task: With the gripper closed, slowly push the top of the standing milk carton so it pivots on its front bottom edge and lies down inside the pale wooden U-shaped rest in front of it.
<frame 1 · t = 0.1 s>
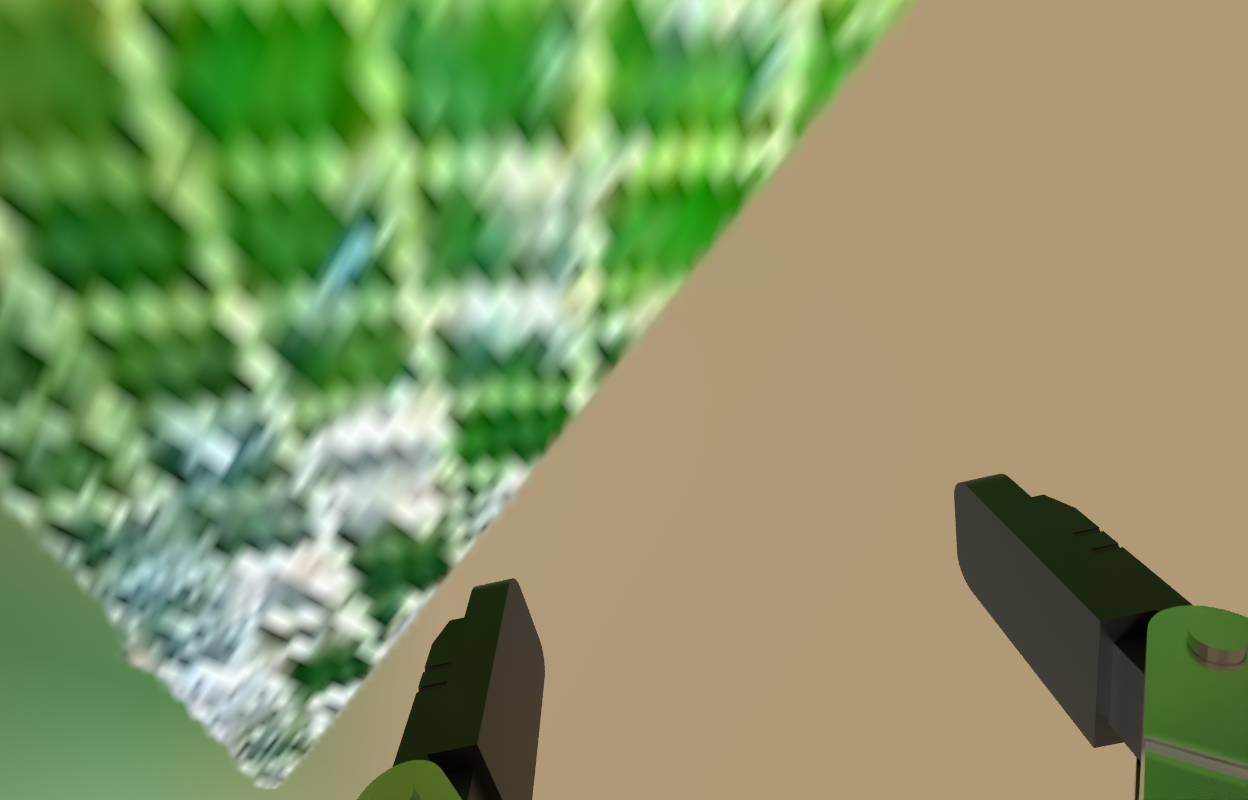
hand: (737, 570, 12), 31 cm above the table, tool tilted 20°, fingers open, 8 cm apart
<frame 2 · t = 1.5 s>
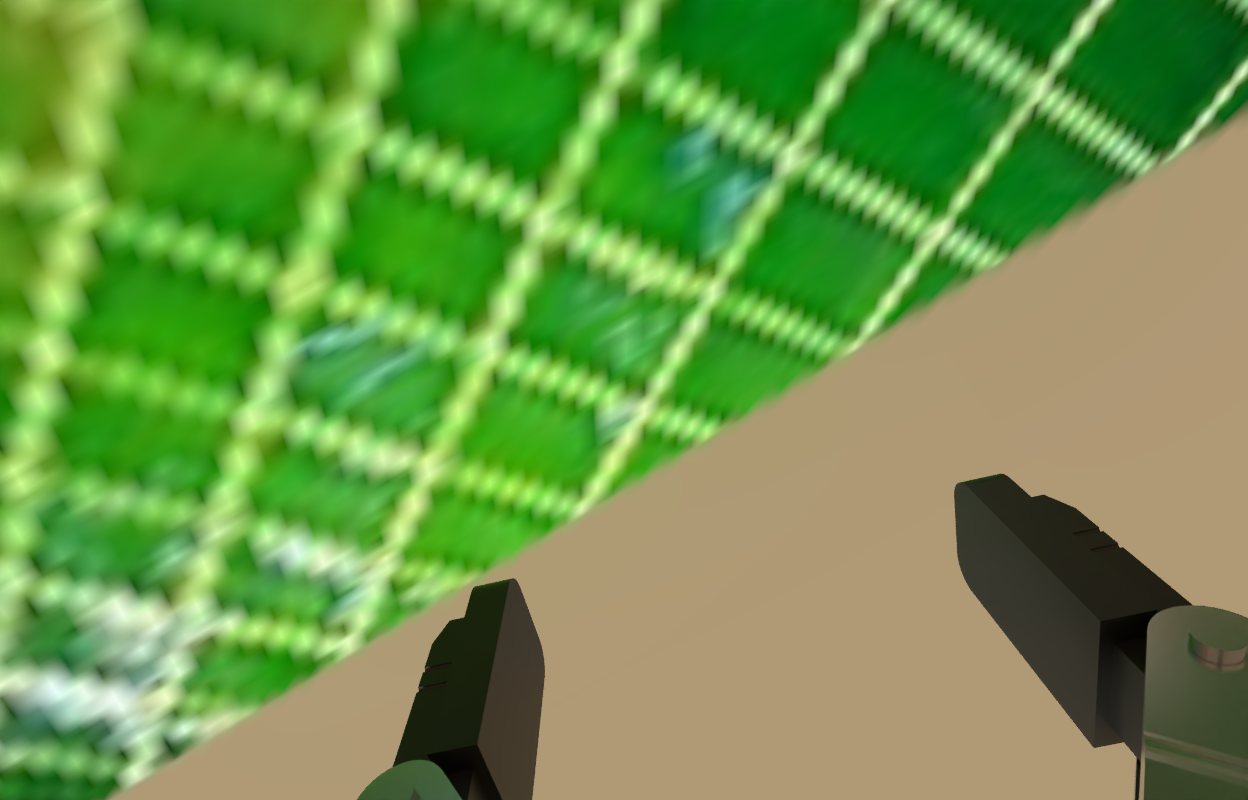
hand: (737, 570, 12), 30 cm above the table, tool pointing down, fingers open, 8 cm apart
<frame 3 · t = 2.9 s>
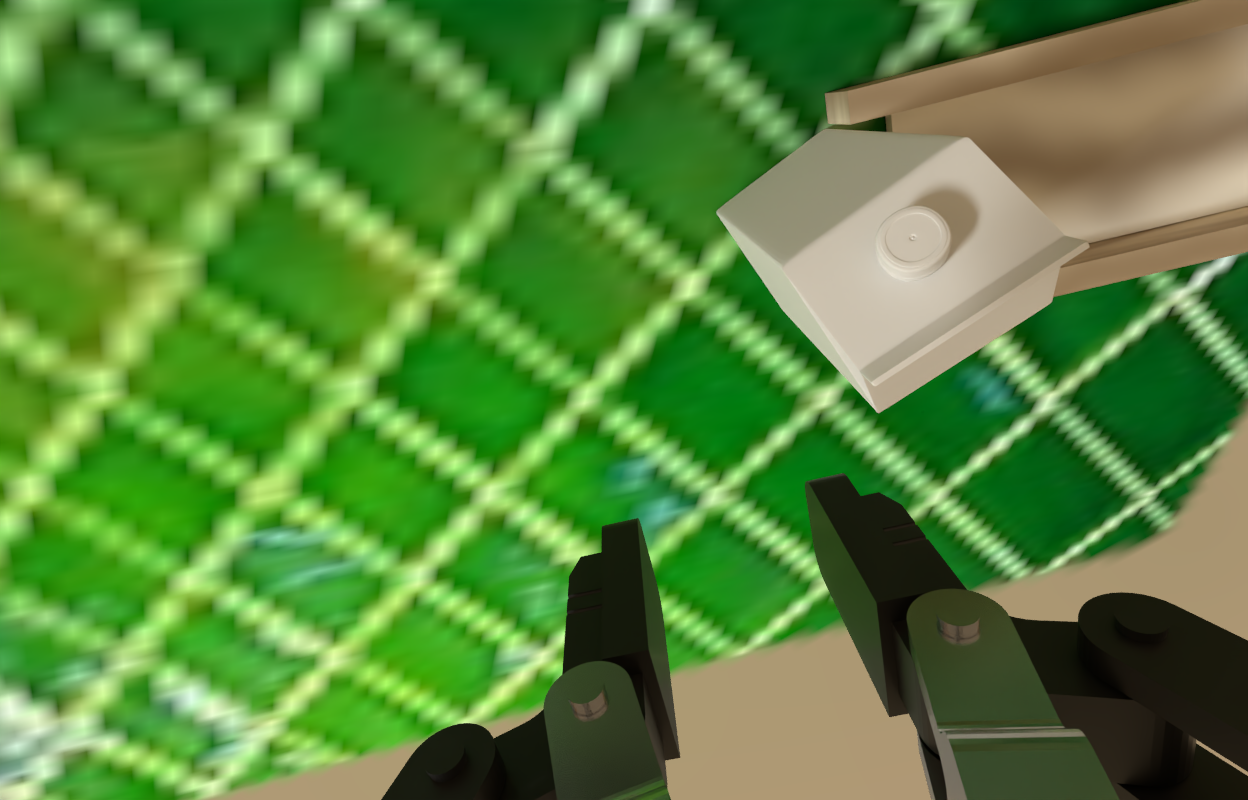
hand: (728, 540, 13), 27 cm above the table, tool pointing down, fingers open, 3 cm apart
u rest: (1061, 159, 37), on the table
milk carton: (801, 222, 38), on the table
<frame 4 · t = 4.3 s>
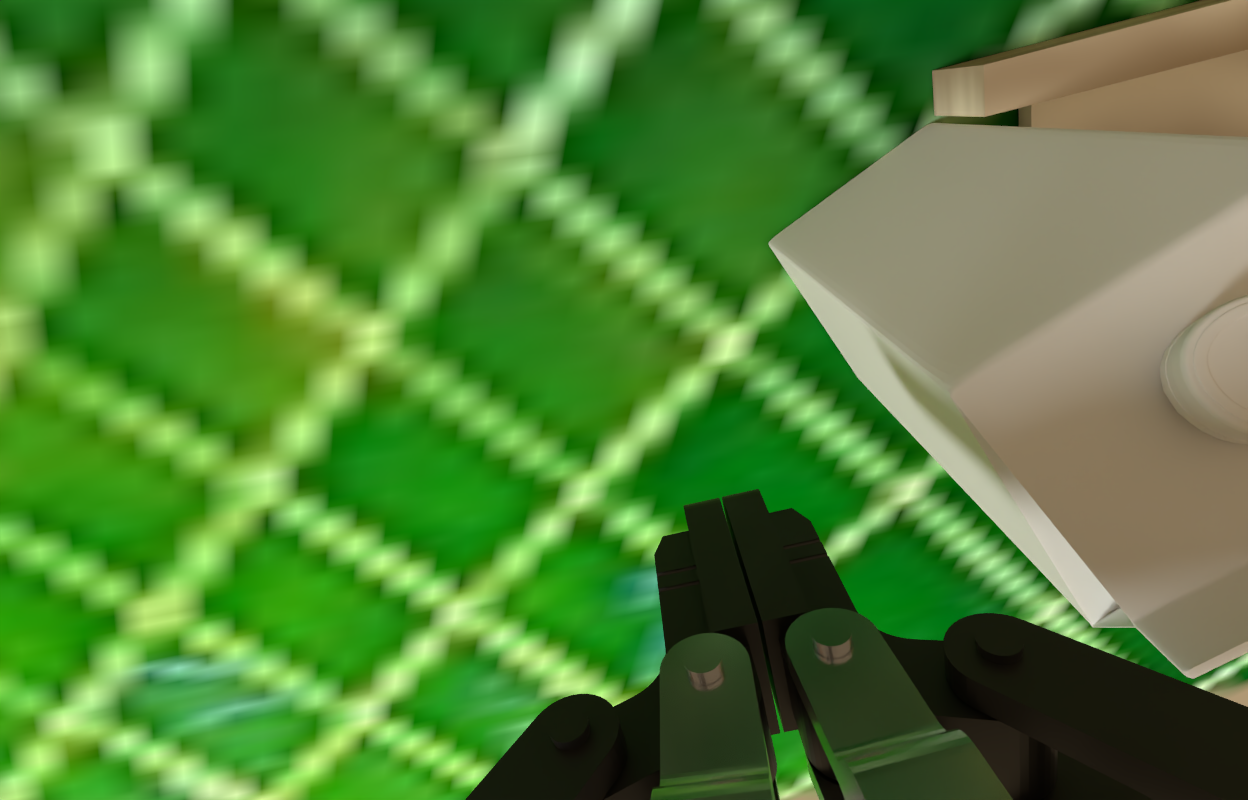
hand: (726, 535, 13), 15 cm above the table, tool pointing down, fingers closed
milk carton: (887, 256, 27), on the table
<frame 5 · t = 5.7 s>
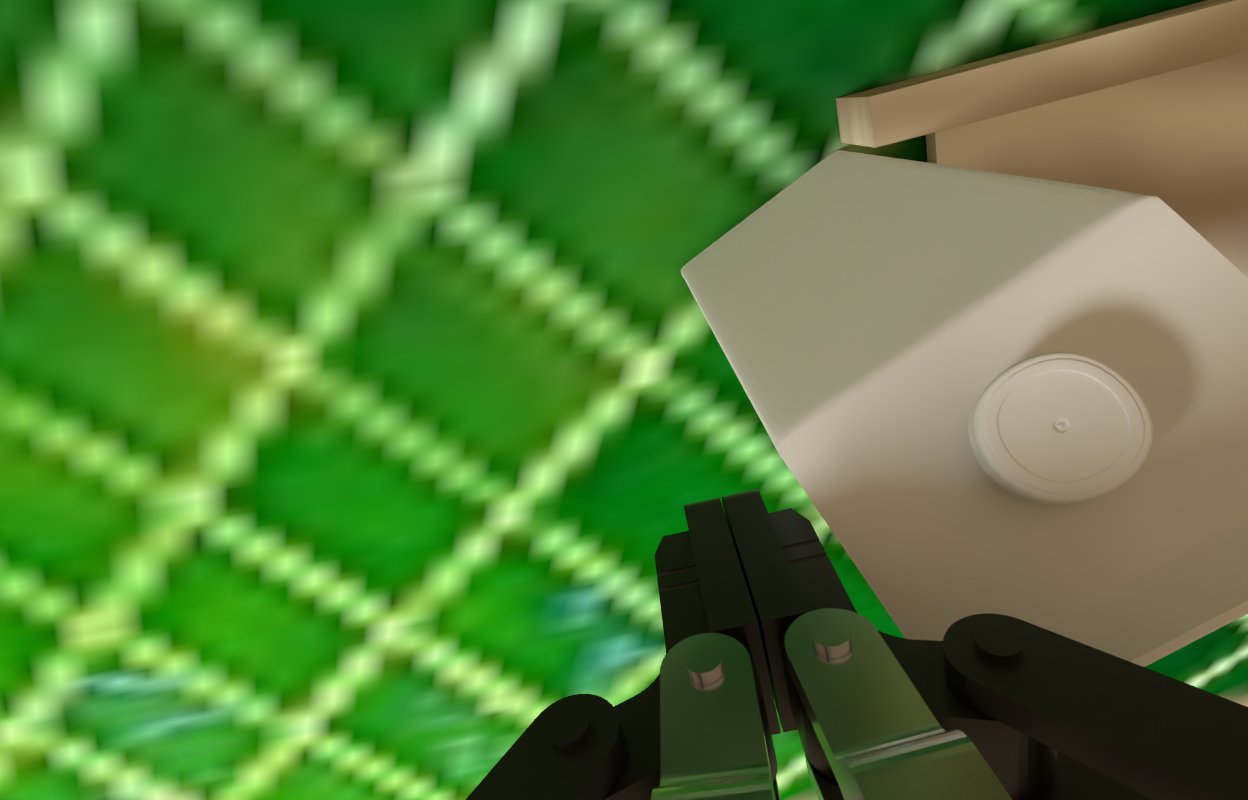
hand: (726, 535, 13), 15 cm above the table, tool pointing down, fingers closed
u rest: (1183, 191, 25), on the table
milk carton: (803, 282, 26), on the table, touching gripper
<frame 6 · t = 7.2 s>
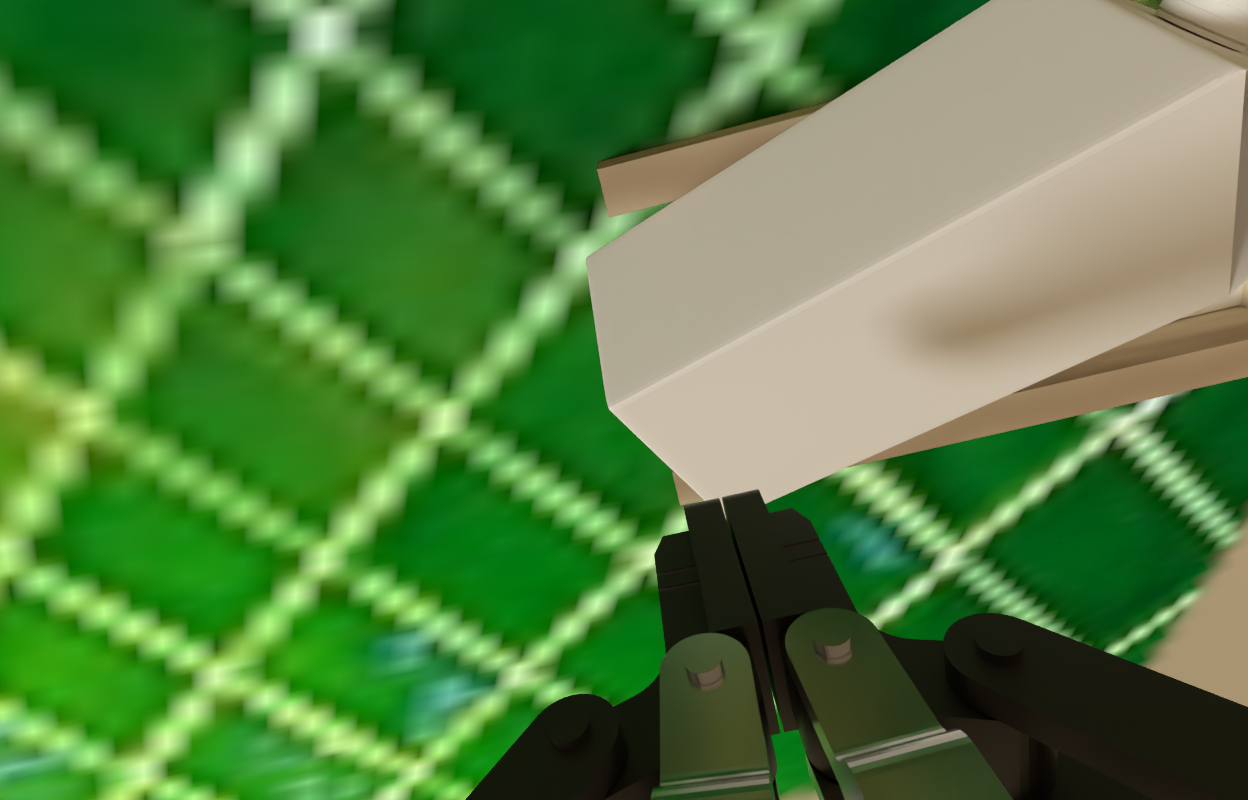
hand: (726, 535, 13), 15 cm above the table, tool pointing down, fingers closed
u rest: (948, 249, 26), on the table
milk carton: (645, 393, 22), point 5 cm above the table, touching u rest
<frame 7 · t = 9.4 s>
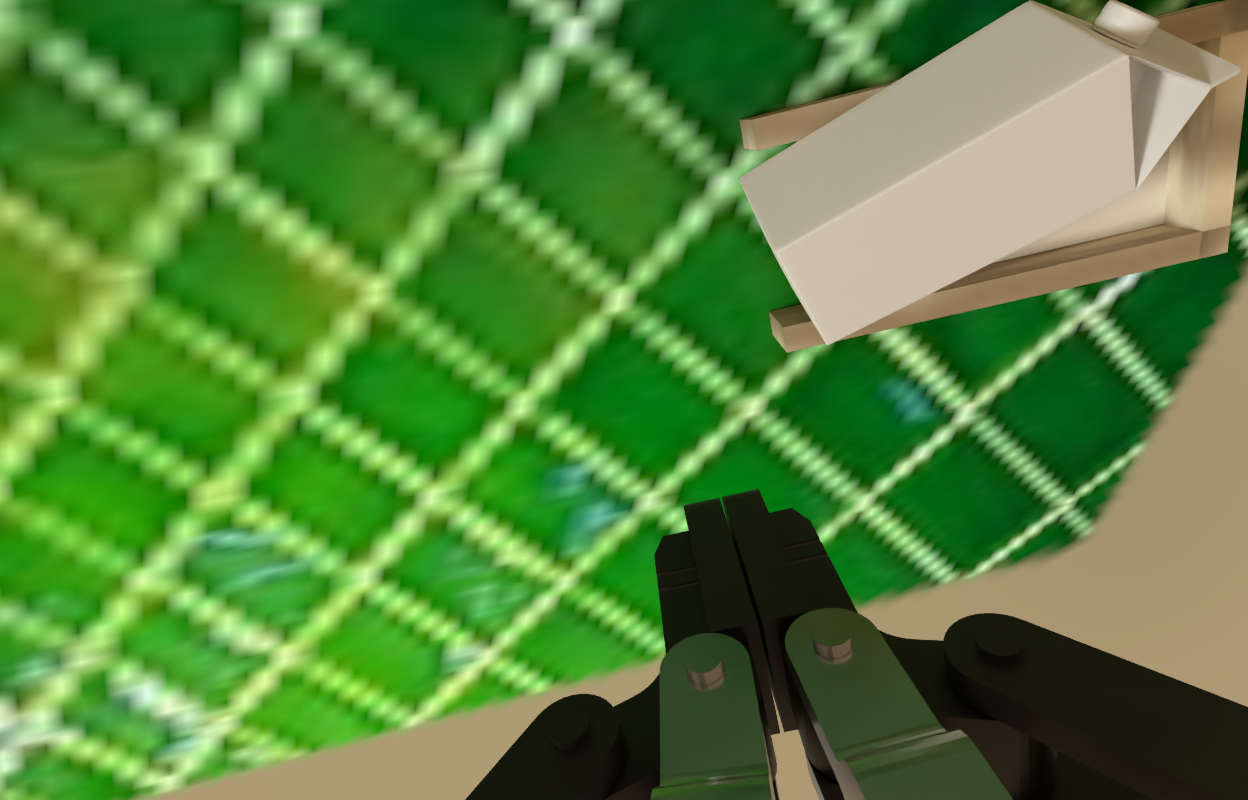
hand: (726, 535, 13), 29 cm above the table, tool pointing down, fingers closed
u rest: (967, 183, 39), on the table
milk carton: (775, 265, 35), point 5 cm above the table, touching u rest
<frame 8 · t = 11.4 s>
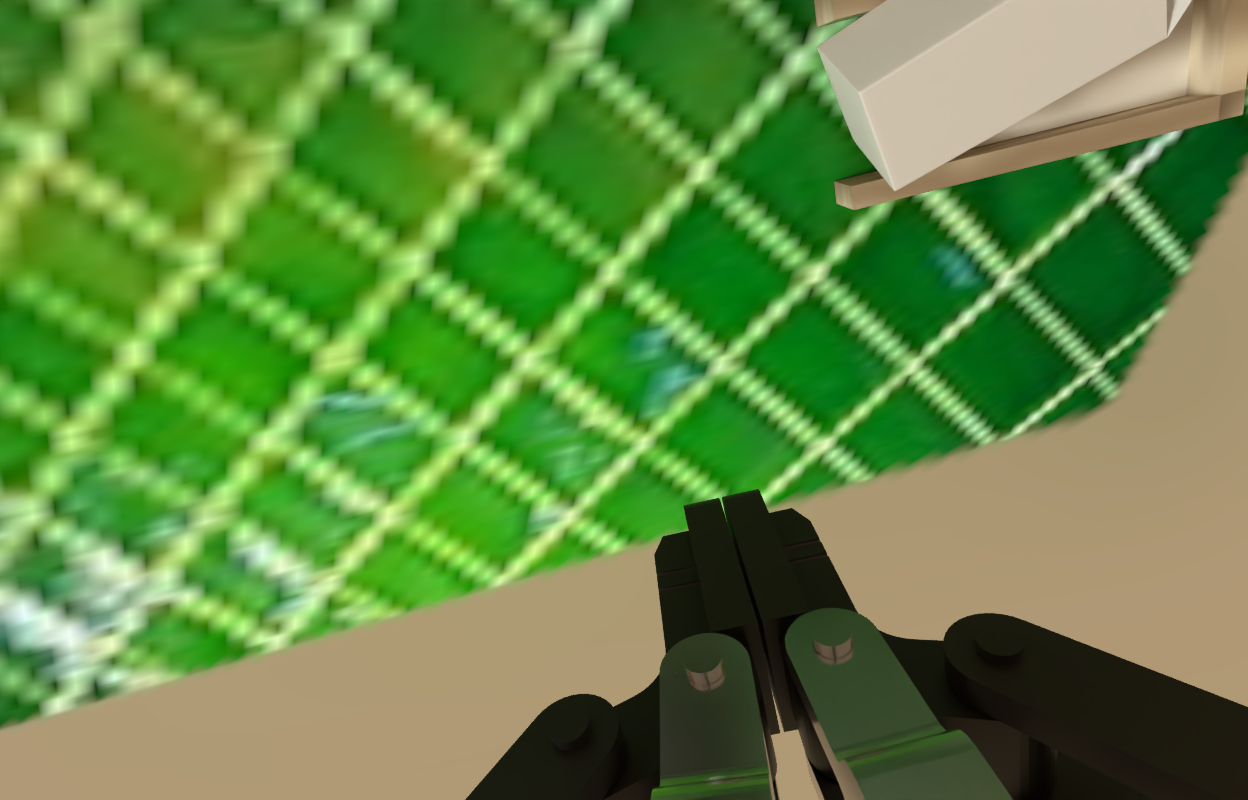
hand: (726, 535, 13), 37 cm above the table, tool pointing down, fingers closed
u rest: (1012, 59, 44), on the table
milk carton: (849, 122, 40), point 5 cm above the table, touching u rest
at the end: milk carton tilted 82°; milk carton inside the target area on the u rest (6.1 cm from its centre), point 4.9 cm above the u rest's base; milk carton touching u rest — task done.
